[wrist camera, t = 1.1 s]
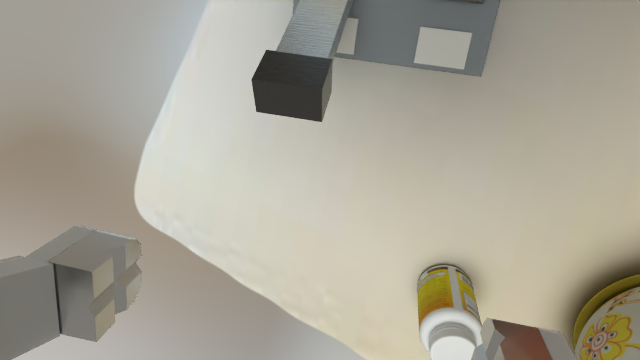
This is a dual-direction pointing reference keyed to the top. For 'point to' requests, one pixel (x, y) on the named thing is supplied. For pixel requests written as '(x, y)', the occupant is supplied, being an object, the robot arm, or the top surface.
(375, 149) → the top surface
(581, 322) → the flowerpot
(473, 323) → the supplement bottle
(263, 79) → the lever left
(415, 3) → the switch unit
